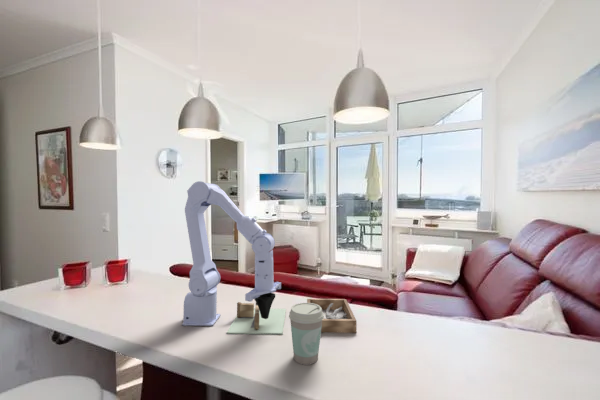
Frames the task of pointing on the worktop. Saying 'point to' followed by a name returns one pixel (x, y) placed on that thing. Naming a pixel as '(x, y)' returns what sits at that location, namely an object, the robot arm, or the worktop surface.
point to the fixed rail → (245, 309)
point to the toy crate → (336, 324)
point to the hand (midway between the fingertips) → (264, 317)
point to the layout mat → (260, 324)
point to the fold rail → (256, 318)
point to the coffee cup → (306, 331)
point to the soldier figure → (334, 313)
